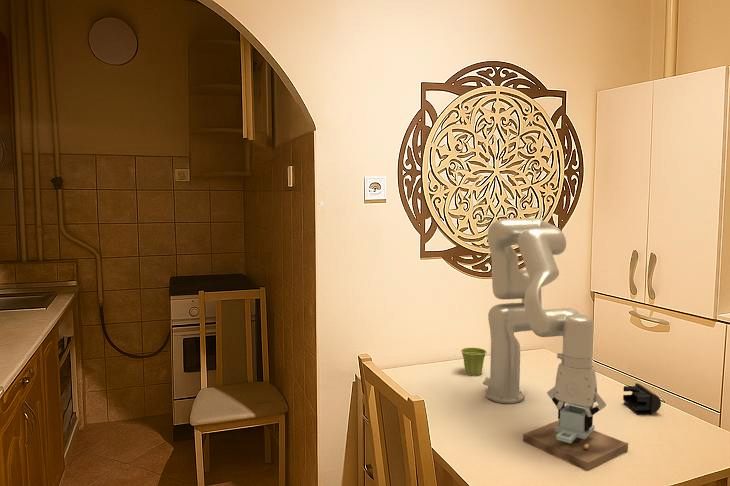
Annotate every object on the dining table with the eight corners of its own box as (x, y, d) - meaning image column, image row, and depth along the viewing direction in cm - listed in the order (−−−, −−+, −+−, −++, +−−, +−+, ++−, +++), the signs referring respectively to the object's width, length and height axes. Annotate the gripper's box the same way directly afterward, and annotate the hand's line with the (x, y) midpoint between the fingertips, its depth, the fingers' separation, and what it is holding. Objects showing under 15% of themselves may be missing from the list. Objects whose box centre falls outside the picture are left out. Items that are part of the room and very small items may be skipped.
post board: (523, 440, 155) (523, 418, 155) (563, 424, 165) (563, 403, 165) (587, 470, 139) (588, 445, 138) (627, 450, 149) (628, 427, 148)
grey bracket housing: (565, 421, 157) (565, 401, 157) (594, 428, 152) (595, 408, 152) (548, 437, 148) (548, 416, 147) (579, 445, 143) (579, 424, 142)
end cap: (660, 415, 172) (661, 394, 171) (638, 416, 172) (639, 394, 171) (643, 403, 182) (644, 382, 181) (622, 403, 182) (623, 383, 181)
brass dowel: (582, 449, 146) (582, 444, 145) (585, 448, 146) (585, 442, 146) (586, 451, 145) (586, 445, 145) (589, 450, 145) (589, 444, 145)
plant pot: (460, 368, 217) (460, 346, 216) (485, 369, 215) (485, 347, 214) (461, 376, 207) (461, 354, 207) (487, 377, 206) (487, 355, 205)
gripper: (540, 358, 152) (538, 422, 154) (606, 371, 141) (604, 439, 143) (550, 351, 158) (548, 413, 160) (615, 363, 147) (612, 429, 149)
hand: (574, 425), depth 152 cm, fingers closed on grey bracket housing, 6 cm apart
